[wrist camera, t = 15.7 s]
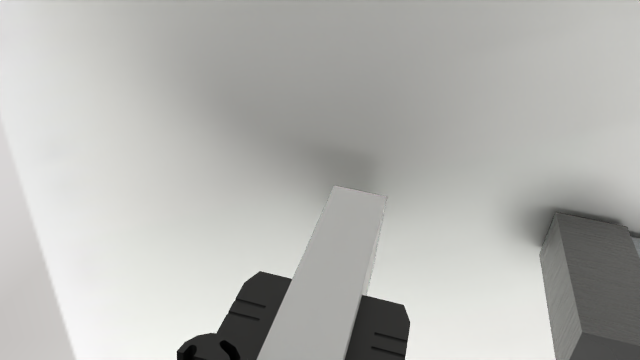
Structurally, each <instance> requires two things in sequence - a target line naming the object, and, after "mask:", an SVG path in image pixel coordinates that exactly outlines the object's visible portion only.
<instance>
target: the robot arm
mask: <svg viewBox="0 0 640 360" xmlns="http://www.w3.org/2000/svg"><path fill="white" fill-rule="evenodd" d="M386 199H387V196H382V195H377V194H373V193H368V192H363V191H359V190H354V189H349V188H345V187H340V186H335V185H334V187H333V189H332V191H331V193H330V196H329V198H328V200H327V202H326V205H325V207H324V209H323V211H322V214H321V216H320V218H319V220H318V223H317V225H316V227H315V229H314V232H313V234H312V236H311V238H310V241H309V243H308V245H307V247H306V250H305V252H304V254H303V256H302V259H301V261H300V263H299V265H298V268H297V270H296V272H295V274H294V277H293V279H290V278H285V277H281V276H277V275H273V274H269V273H265V272H261V271H260V272H258V273H257V274H256V275H254V276H253V277H252V278H250V279H249V280H248V281H246V282H245V283H244V284H243V286H242V288H241V290H240V292H239V293H238V295H237V297H236V300H235V301H234V302H233V304H232V306H231V308H230V310H229V313H228V314H227V315H226V317H225V319H224V321H223V322H222V324H221V326H220V328H219V330H218V331H217V333H216V334H215V333H209V334H204V335H198V336H196V337H194V338H192V339H190V340H188V341H186V342H185V343H184V344H183V345H182V346H181V347H180V348H179V350H178V351H177V360H405V355H406V348H407V341H408V335H409V328H410V321H409V318H408V315H407V313H406V310H405V307H404V305H401V304H397V303H393V302H389V301H385V300H381V299H377V298H373V297H369V296H366V295H367V291H368V287H369V283H370V279H371V276H372V271H373V266H374V261H375V256H376V251H377V246H378V240H379V235H380V230H381V225H382V220H383V214H384V209H385V204H386Z"/></svg>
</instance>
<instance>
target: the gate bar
mask: <svg viewBox="0 0 640 360" xmlns="http://www.w3.org/2000/svg"><path fill="white" fill-rule="evenodd" d="M539 255H540V261H541V268H542V274H543V280H544V287H545V293H546V300H547V306H548V312H549V319H550V325H551V332H552V338H553V344H554V351H555V357H556V360H640V238H635V237H631V235H630V233H629V230H628V228H627V227H626V226H621V225H617V224H612V223H607V222H602V221H597V220H592V219H587V218H583V217H578V216H573V215H568V214H563V213H558V212H555V215H554V218H553V220H552V223H551V225H550V228H549V231H548V233H547V236H546V239H545V241H544V244H543V247H542V249H541V252H540V254H539Z"/></svg>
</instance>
